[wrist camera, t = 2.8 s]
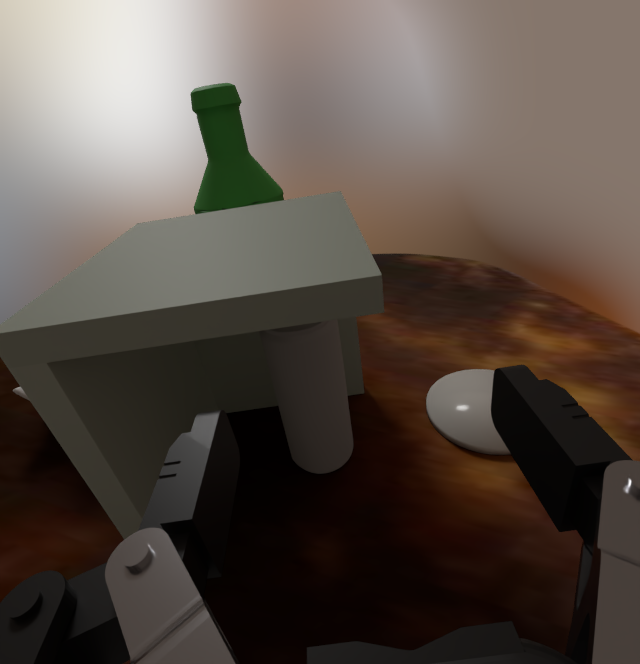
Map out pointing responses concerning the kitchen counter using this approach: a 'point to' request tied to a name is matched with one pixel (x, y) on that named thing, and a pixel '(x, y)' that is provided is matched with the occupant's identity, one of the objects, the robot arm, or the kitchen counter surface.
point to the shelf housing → (183, 332)
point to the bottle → (228, 154)
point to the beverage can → (311, 393)
